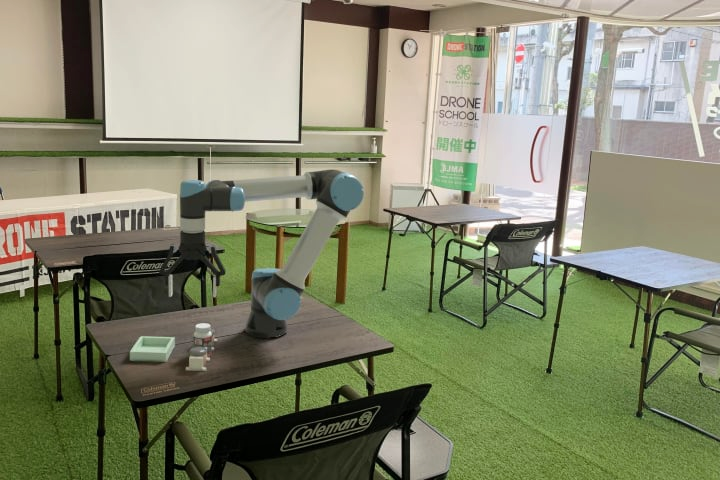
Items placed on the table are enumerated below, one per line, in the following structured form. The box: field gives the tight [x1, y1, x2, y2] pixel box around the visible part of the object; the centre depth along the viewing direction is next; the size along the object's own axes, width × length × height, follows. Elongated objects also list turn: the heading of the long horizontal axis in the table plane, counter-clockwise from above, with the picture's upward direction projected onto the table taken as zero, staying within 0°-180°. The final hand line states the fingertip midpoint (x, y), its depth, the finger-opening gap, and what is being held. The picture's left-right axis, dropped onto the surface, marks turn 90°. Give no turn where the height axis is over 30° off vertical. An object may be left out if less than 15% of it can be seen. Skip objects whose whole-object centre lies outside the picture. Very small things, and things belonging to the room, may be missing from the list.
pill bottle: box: [192, 322, 212, 358], centre depth 201 cm, size 6×6×10 cm
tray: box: [129, 335, 176, 363], centre depth 200 cm, size 11×13×3 cm
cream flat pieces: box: [185, 338, 218, 372], centre depth 202 cm, size 6×24×4 cm, turn 5°
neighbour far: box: [210, 328, 216, 347], centre depth 209 cm, size 5×5×5 cm
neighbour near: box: [189, 347, 208, 367], centre depth 194 cm, size 5×5×5 cm
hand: (192, 295), depth 199 cm, fingers open, 13 cm apart
